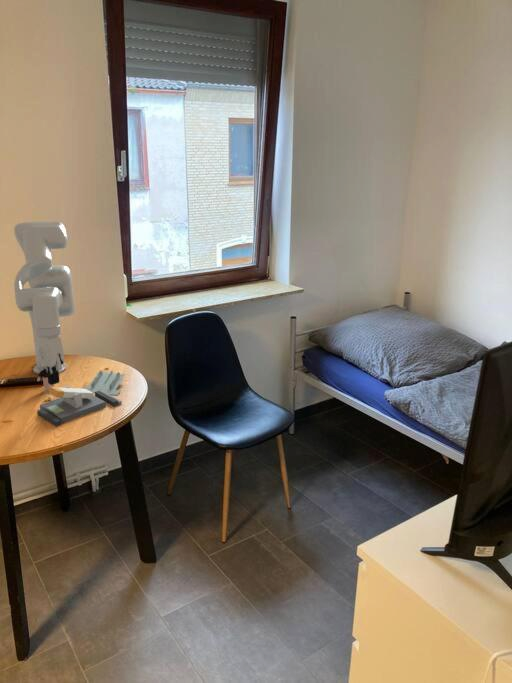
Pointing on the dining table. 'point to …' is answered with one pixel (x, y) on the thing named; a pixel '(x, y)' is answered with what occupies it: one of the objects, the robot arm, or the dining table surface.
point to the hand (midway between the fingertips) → (54, 383)
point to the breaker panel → (72, 406)
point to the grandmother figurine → (44, 379)
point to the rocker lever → (69, 392)
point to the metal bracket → (106, 383)
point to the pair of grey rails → (98, 394)
